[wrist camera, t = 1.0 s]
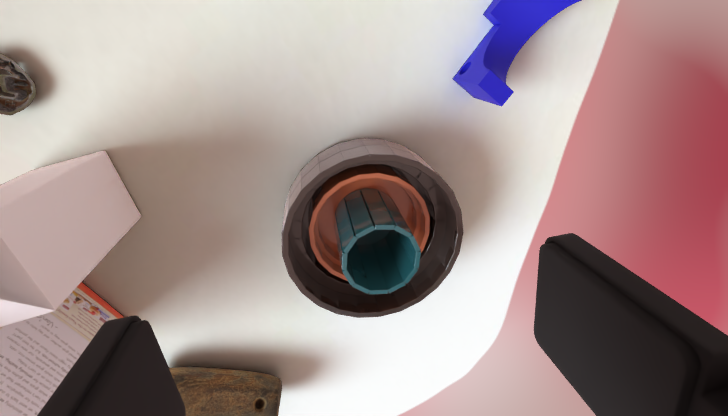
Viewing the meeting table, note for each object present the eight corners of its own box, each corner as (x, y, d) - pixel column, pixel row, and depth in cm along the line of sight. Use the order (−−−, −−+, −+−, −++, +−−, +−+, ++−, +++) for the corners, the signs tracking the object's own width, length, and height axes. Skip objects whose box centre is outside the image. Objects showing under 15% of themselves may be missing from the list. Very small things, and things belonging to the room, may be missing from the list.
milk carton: (143, 215, 38) (13, 357, 21) (73, 235, 38) (-117, 395, 21) (106, 149, 35) (-80, 250, 18) (29, 170, 35) (-233, 293, 18)
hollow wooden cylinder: (283, 355, 48) (281, 400, 42) (280, 396, 50) (277, 444, 44) (154, 355, 45) (131, 403, 39) (157, 398, 48) (136, 450, 41)
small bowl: (348, 139, 38) (353, 149, 35) (440, 196, 42) (453, 211, 39) (287, 234, 41) (286, 252, 38) (378, 279, 45) (385, 299, 42)
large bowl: (340, 104, 37) (348, 115, 31) (470, 189, 43) (498, 212, 37) (255, 242, 41) (247, 275, 35) (383, 302, 47) (395, 339, 41)
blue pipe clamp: (527, -46, 34) (570, -63, 29) (558, -10, 36) (605, -20, 30) (441, 69, 37) (465, 73, 32) (473, 97, 39) (501, 106, 33)
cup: (356, 176, 39) (371, 211, 31) (409, 207, 42) (435, 247, 33) (321, 228, 41) (326, 275, 33) (374, 255, 43) (390, 305, 35)
